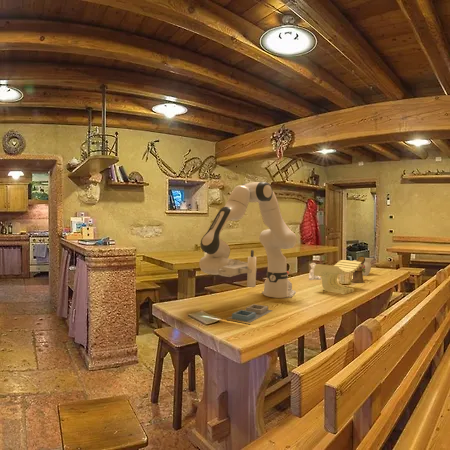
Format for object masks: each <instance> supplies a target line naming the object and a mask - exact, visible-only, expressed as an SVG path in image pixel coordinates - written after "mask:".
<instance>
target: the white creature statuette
mask: <svg viewBox="0 0 450 450" xmlns="http://www.w3.org/2000/svg"><path fill="white" fill-rule="evenodd" d="M317 264H318V263H315V262H311V263H309V266H310V269H309V273H308V280H309V281H312V280H313V281H314V280H315V281H316V280H319V281H322V278H321V276H315V275H314V267H315V266H316V265H317Z"/></svg>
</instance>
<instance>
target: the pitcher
mask: <svg viewBox="0 0 450 450" xmlns="http://www.w3.org/2000/svg"><path fill="white" fill-rule="evenodd" d="M364 258H365V262H364V263H363V264H361V267H362V274H363V277H364V276H368V275H370V273H371V270H372V263H371V262H372V261H373V260H374V259H375V258H371V257H364ZM352 261H357V259H354V260H352Z"/></svg>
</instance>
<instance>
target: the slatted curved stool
mask: <svg viewBox="0 0 450 450" xmlns="http://www.w3.org/2000/svg"><path fill="white" fill-rule="evenodd" d="M316 264H317V265H316V266H315V267H314V275H315V276H320V277H321V288H322V289H323V291H325V292H330V293H335V294H342V295H347V294H349V293H353V292H355V289H354V288H353V287H347V286H345V285H341V284H339V283H338V281H337V280H338V277H339V275H348V274H352V273H353V272H355V270H357V268H359V267H360V266H361V262H357V261H353V260H347V259H341V260H338V261H337V263H335V264H333V265H329V264H324V263H323V264H322V263H316Z"/></svg>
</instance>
